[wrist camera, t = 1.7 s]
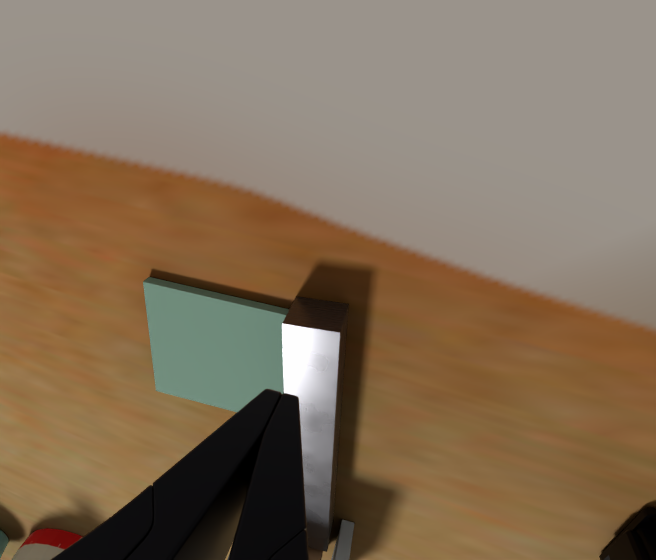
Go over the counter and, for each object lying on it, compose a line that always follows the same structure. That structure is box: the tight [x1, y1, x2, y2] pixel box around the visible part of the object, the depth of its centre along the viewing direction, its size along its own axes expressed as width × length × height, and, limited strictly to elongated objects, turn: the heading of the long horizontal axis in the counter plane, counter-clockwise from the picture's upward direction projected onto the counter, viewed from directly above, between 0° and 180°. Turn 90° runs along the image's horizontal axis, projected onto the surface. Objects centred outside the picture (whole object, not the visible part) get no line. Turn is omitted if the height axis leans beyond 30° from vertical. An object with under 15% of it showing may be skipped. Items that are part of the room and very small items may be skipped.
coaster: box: [143, 277, 289, 412], centre depth 26 cm, size 9×9×1 cm
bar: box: [282, 297, 349, 552], centre depth 27 cm, size 3×20×3 cm, turn 178°
